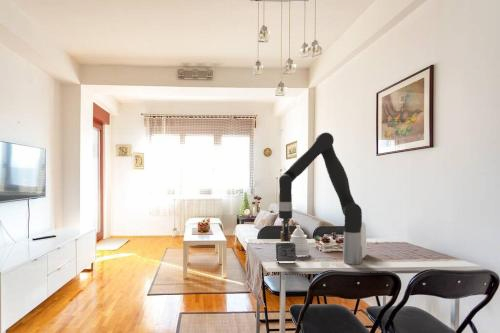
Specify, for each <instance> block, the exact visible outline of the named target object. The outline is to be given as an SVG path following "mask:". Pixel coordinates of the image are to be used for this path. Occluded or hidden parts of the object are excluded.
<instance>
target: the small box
mask: <svg viewBox="0 0 500 333" xmlns="http://www.w3.org/2000/svg"><path fill="white" fill-rule="evenodd" d="M296 258H297V257H296V251H295V244H294V243H290V242H276V243H275V260H276V259H277V261H297V260H296Z"/></svg>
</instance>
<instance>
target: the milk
mask: <svg viewBox="0 0 500 333" xmlns="http://www.w3.org/2000/svg"><path fill="white" fill-rule="evenodd" d="M366 227H367V225H366V223H365V221H363V220H362V227H361V246H362V259H364V258H365V257H366V256H368V247H367V246H368V244H367V228H366ZM342 242H343V244H342V246H343V247H342V257H344V239H343V241H342Z"/></svg>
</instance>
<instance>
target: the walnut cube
mask: <svg viewBox="0 0 500 333" xmlns="http://www.w3.org/2000/svg"><path fill="white" fill-rule="evenodd" d="M288 232H289V233H288V241H284V231H283V230H281V231H280V241H281V242H280V243H290V240H291V232H290V230H288Z"/></svg>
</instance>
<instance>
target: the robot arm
mask: <svg viewBox="0 0 500 333" xmlns="http://www.w3.org/2000/svg"><path fill="white" fill-rule="evenodd" d="M334 141H335V140H334V136H333V134H331V133H330V132H328V131H327V132H326V131H325V132H321V133H319V135H317V137H316V139H315V141H314V143H313V144H312V145H311V146H310V148H309V149H307V151H306V152H304V153H303V154H302V155H301V156H300V157H299V158H298V159H296V161H295V162H294V163H293V164H291V166H289V168H288V169H287V170H286V171H285V172H284V173H283V174H282V175H281V176H279V178H278V179H279V180H278V181H279V183H278V184H279V186H278V187H279V196H278V197H279V198H278V200H279V202H278V218H279V219H281V220H282V221H281V225H282V226H281V228H282V231H284V241H288V233H289V232H288V231H290V221H289V219H292V218H293V202H292V200H293V197H292V196H293V193H292V188H293V187H292V186H293V182H294V181H295V180H296V179H297V177H299V176H300V175H301V174H303V173H304V172H305V170H306V169H308V168H309V166H310V165H311V164H312V163H313V162H314V161H315V159H317V158H318V157H319V155H321V156H322V159H323V161H324V164H325V168H326V172H327V174H328V177H329V180H330V182H331V184H332V187H333V189H334V191H335V193H336V195H337V197H338V200H339V204H340V207H341V211H342V214H343V216H344V226H343V240H344V256H343V262H344V263H345V264H347V265H348V264H349V265H359V264H361V265H362V264H363V258H362V246H361V227H362V221H363V212H362V211H363V210H362V208H361V206H360V205H359V204H358V203H356V202H355V200H354V198H353V195H352V193H351V189H350V188H351V187H350V182H349V179H348V178H349V177H348V175H347V173H346V170H345V168H344V166H343V164H342V163H341V160H340V159H339V158H338V156H337V154H336V152H335V149H334V146H333V144H334Z"/></svg>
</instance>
